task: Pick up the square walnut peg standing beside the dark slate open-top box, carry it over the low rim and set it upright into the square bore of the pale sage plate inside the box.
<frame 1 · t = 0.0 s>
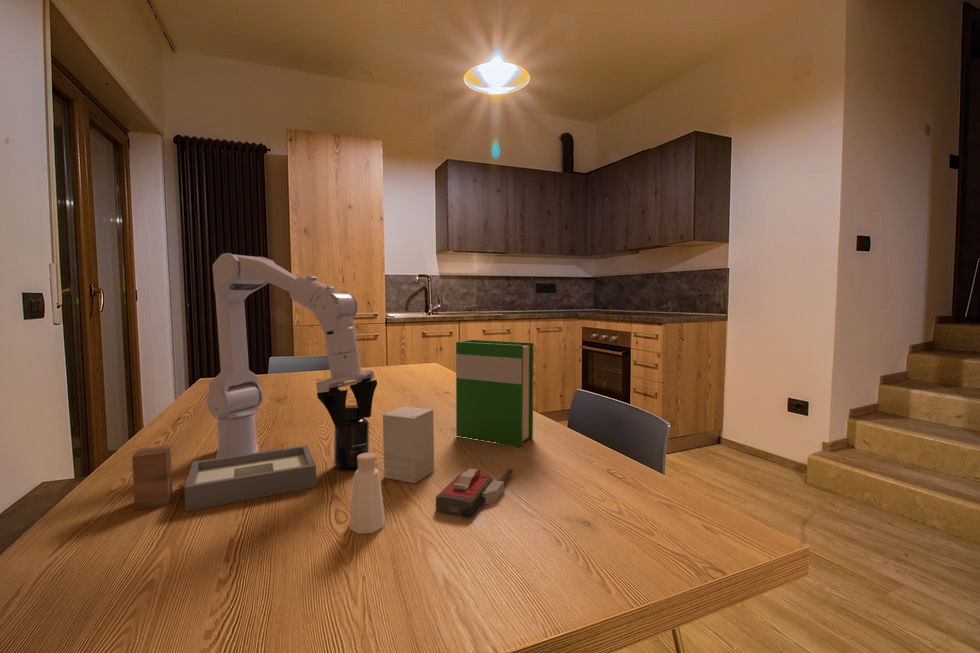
hand: (353, 422, 86), 11 cm above the table, tool pointing down, fingers open, 7 cm apart
supplement bottle: (352, 465, 92), on the table, touching gripper
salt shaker: (367, 526, 68), on the table
supplement box: (409, 475, 88), on the table
wooden peg: (154, 502, 75), on the table
walkie-talkie: (477, 496, 79), on the table
open box: (254, 484, 83), on the table
hardback book: (494, 438, 111), on the table
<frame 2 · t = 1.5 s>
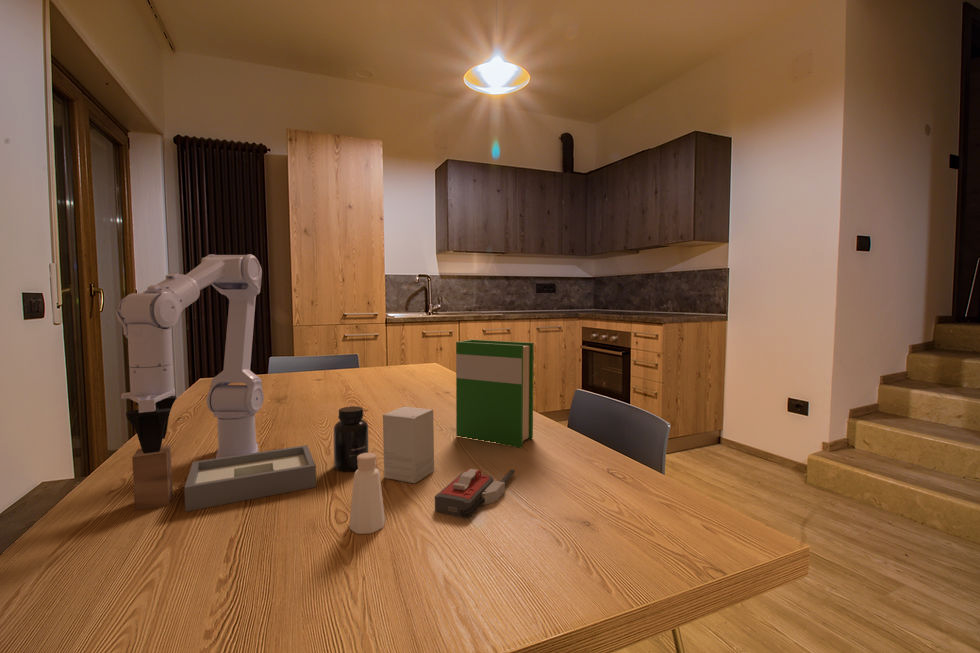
hand: (154, 445, 75), 10 cm above the table, tool pointing down, fingers open, 7 cm apart
supplement bottle: (352, 466, 92), on the table
everything else where it was.
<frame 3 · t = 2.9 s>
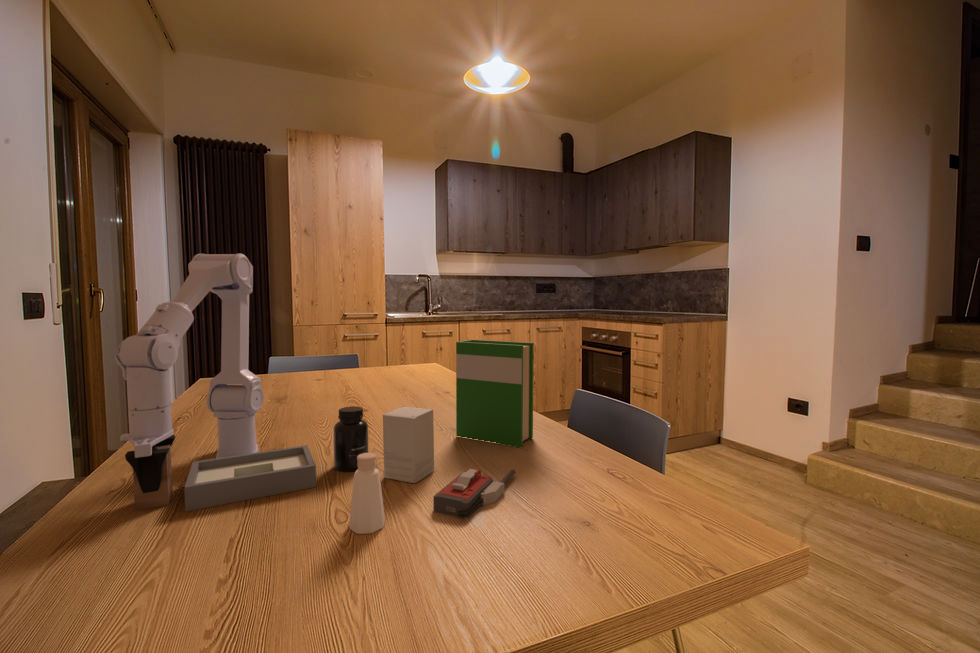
hand: (153, 485, 75), 3 cm above the table, tool pointing down, fingers closed on wooden peg, 4 cm apart
wooden peg: (154, 502, 75), on the table, touching gripper
everything else where it was.
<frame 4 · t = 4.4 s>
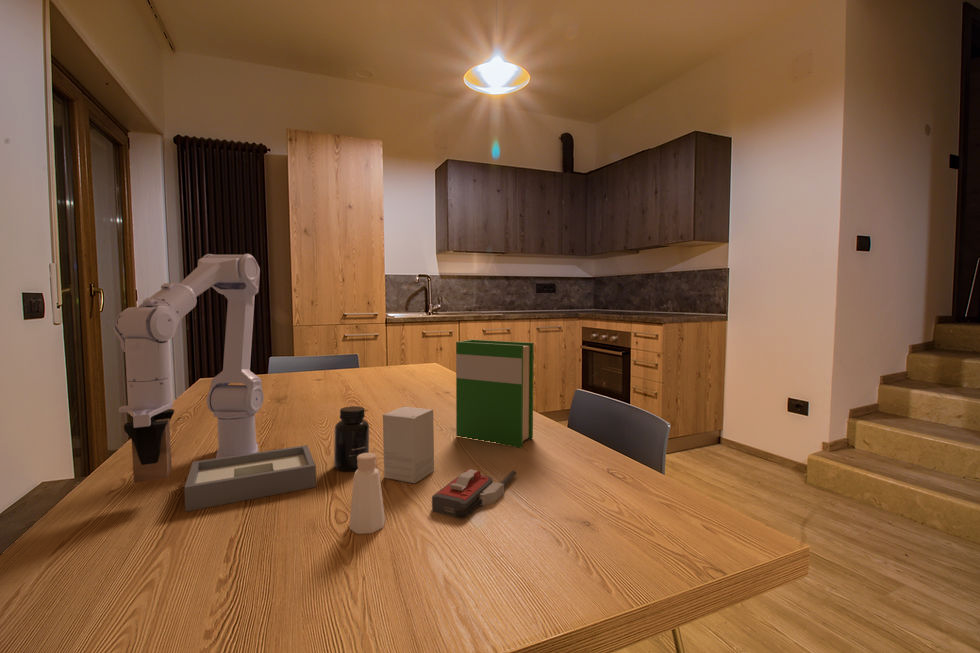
hand: (152, 458, 75), 8 cm above the table, tool pointing down, fingers closed on wooden peg, 4 cm apart
wooden peg: (153, 475, 75), point 5 cm above the table, touching gripper
everything else where it was.
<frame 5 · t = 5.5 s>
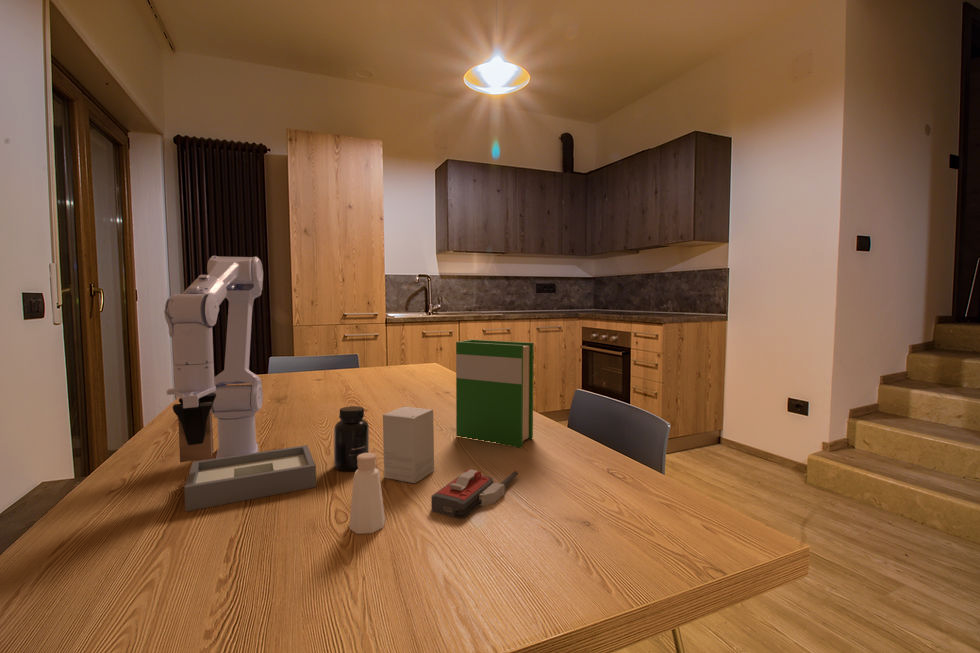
hand: (197, 439, 78), 10 cm above the table, tool pointing down, fingers closed on wooden peg, 4 cm apart
wooden peg: (197, 456, 78), point 7 cm above the table, touching gripper
everything else where it was.
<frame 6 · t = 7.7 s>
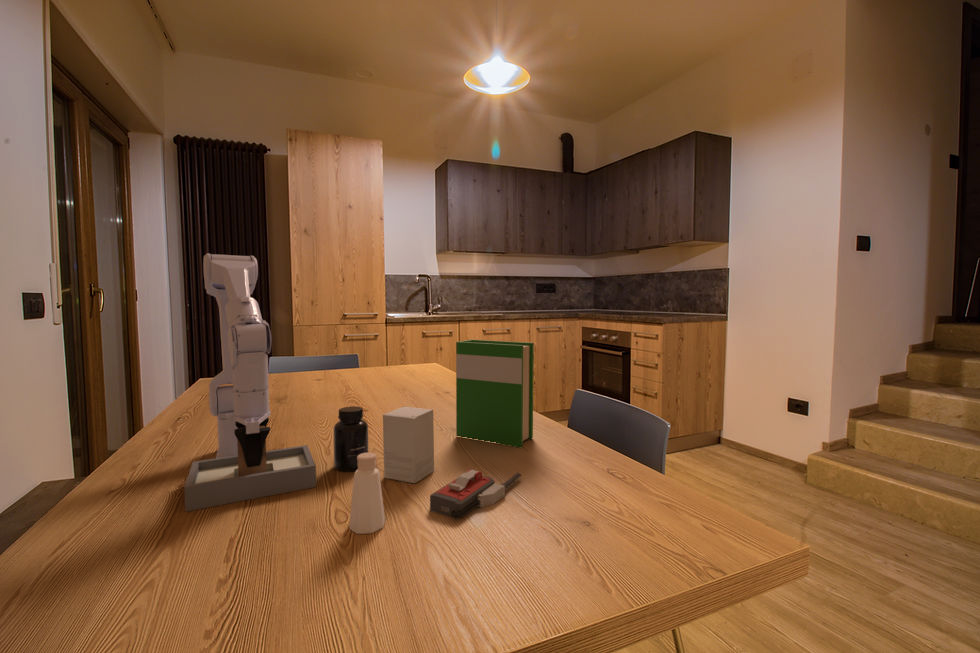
hand: (253, 461, 82), 4 cm above the table, tool pointing down, fingers closed on wooden peg, 4 cm apart
wooden peg: (252, 477, 82), point 1 cm above the table, touching gripper
when the fingers open (4 cm above the table, at t = 7.9 s): wooden peg stays where it is, resting on open box.
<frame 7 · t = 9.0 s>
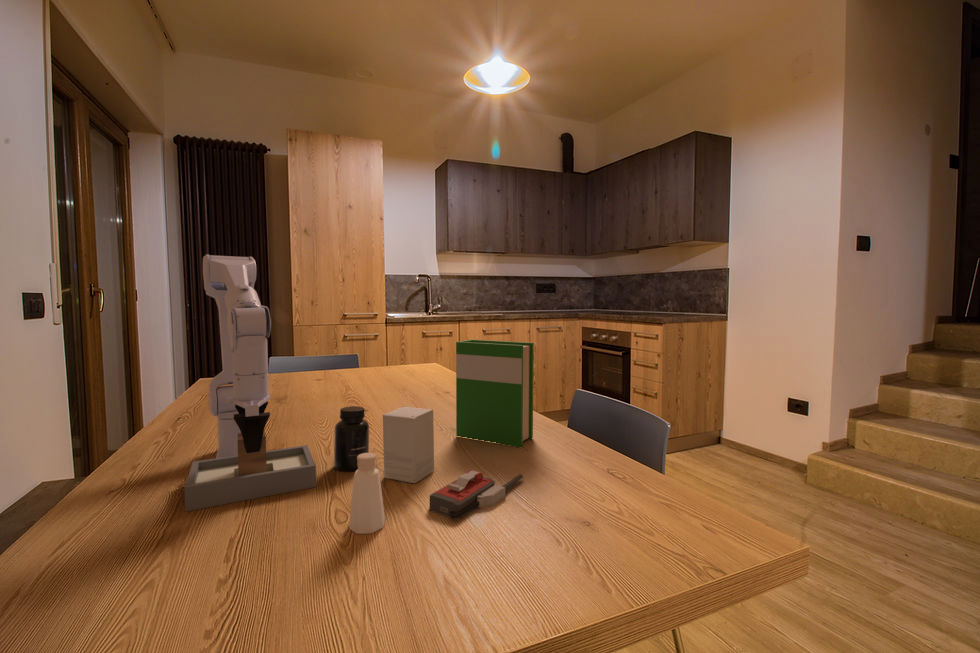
hand: (253, 445, 82), 7 cm above the table, tool pointing down, fingers open, 7 cm apart
wooden peg: (253, 482, 82), resting on open box
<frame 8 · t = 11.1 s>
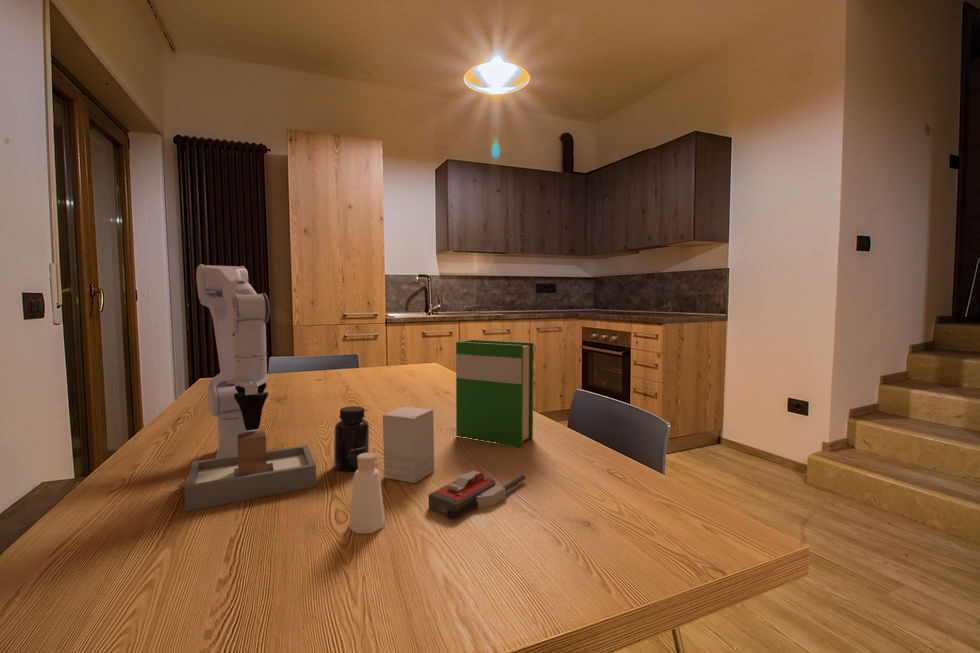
hand: (252, 424, 87), 10 cm above the table, tool pointing down, fingers open, 7 cm apart
at the end: wooden peg 0.2 cm off-centre on the open box, point 0.5 cm above the open box's base; wooden peg tilted 0°; the gripper is holding nothing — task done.
